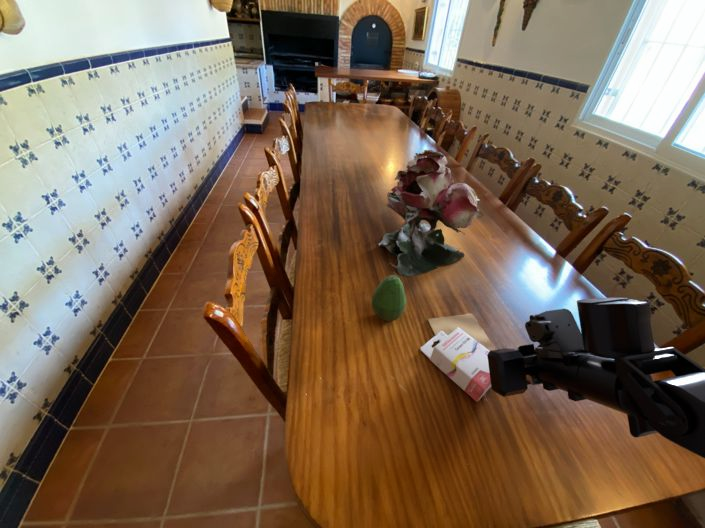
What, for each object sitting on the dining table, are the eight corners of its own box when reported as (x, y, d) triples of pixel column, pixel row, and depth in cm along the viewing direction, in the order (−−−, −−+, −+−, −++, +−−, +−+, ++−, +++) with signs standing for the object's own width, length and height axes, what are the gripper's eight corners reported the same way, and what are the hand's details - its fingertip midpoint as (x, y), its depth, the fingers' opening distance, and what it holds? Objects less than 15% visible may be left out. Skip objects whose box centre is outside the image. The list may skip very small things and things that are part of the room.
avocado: (395, 301, 76) (403, 265, 69) (406, 325, 70) (417, 289, 63) (365, 305, 74) (370, 269, 67) (374, 330, 69) (381, 294, 61)
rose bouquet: (477, 254, 94) (516, 161, 75) (404, 282, 82) (429, 179, 63) (424, 216, 111) (445, 132, 92) (357, 234, 98) (365, 142, 79)
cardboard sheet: (509, 372, 62) (510, 371, 62) (457, 381, 60) (458, 379, 60) (471, 314, 74) (471, 313, 74) (427, 320, 72) (427, 318, 72)
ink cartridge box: (485, 390, 53) (422, 336, 62) (476, 403, 56) (417, 350, 65) (509, 363, 58) (446, 317, 66) (499, 377, 61) (441, 331, 69)
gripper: (641, 307, 40) (546, 303, 56) (523, 323, 37) (456, 314, 52) (655, 391, 40) (555, 363, 55) (536, 416, 36) (464, 378, 51)
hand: (509, 353), depth 53 cm, fingers closed
